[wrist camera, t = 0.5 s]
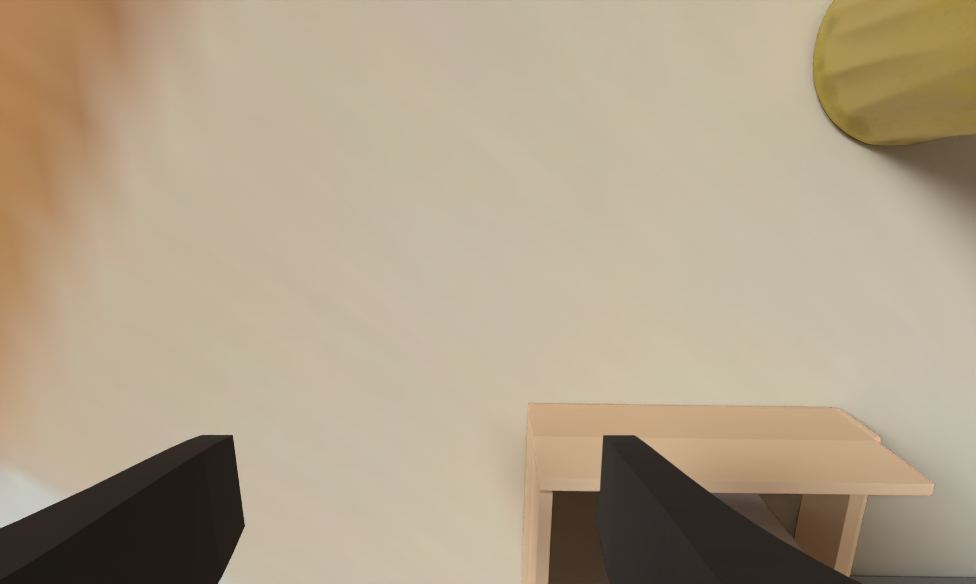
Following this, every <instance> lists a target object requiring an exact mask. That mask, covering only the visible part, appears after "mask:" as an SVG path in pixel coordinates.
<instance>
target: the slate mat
mask: <svg viewBox="0 0 976 584" xmlns="http://www.w3.org/2000/svg"><path fill="white" fill-rule="evenodd" d="M850 578H852V579H854V580H856V581H858V582H860V583H862V584H976V578H951V577H872V576H850Z"/></svg>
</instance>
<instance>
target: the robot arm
mask: <svg viewBox="0 0 976 584" xmlns="http://www.w3.org/2000/svg"><path fill="white" fill-rule="evenodd" d="M244 527H245V524H244V516H243V509H242V501H241V494H240V486H239V479H238V471H237V464H236V456H235V449H234V441H233V435H201V436H198V437H195V438H192V439H190V440H187V441H185V442H183V443H180V444H178V445H176V446H174V447H171V448H169V449H167V450H165V451H163V452H161V453H159V454H157V455H155V456H153V457H151V458H149V459H146V460H144V461H142V462H140V463H138V464H136V465H134V466H132V467H130V468H128V469H126V470H124V471H122V472H120V473H118V474H116V475H114V476H112V477H110V478H108V479H106V480H104V481H102V482H100V483H98V484H96V485H94V486H92V487H90V488H88V489H86V490H83V491H81V492H79V493H77V494H75V495H73V496H70V497H68V498H66V499H64V500H62V501H60V502H58V503H55V504H53V505H51V506H49V507H47V508H45V509H42V510H40V511H38V512H36V513H34V514H32V515H29V516H27V517H25V518H23V519H21V520H19V521H16V522H14V523H12V524H9V525H7V526H5V527H3V528H0V584H218V582H219V580H220V579H221V577H222V575H223V573H224V571H225V569H226V567H227V565H228V563H229V561H230V558H231V556H232V554H233V552H234V550H235V547H236V545H237V543H238V541H239V538H240V536H241V534H242V531H243V529H244ZM598 530H599V535H600V540H601V546H602V551H603V555H604V560H605V565H606V569H607V574H608V578H609V581H610V584H862V583H860V582H858V581H856V580H854V579H852V578H850V577H848V576H846V575H844V574H842V573H840V572H838V571H836V570H834V569H832V568H830V567H829V566H827V565H825V564H823V563H821V562H819V561H817V560H816V559H814V558H812V557H810V556H809V555H807V554H805V553H803V552H802V551H800V550H798V549H796V548H795V547H793V546H791V545H789V544H788V543H786V542H784V541H782V540H781V539H779V538H777V537H776V536H774V535H773V534H771V533H769V532H768V531H766V530H764V529H763V528H761V527H760V526H758V525H757V524H755V523H754V522H752V521H751V520H749V519H748V518H746V517H745V516H743V515H742V514H740V513H739V512H737V511H736V510H734V509H733V508H731V507H730V506H728V505H727V504H725V503H724V502H723V501H721V500H720V499H718V498H717V497H716V496H714V495H713V494H711V493H710V492H709V491H707V490H706V489H705V488H703V487H702V486H701V485H699V484H698V483H697V482H695V481H694V480H693V479H691V478H690V477H689V476H687V475H686V474H685V473H683V472H682V471H681V470H680V469H678V468H677V467H676V466H674V465H673V464H672V463H671V462H669V461H668V460H667V459H666V458H664V457H663V456H662V455H660V454H659V453H658V452H657V451H655V450H654V449H653V448H652V447H650V446H649V445H648V444H646V443H645V442H644V441H642V440H641V439H640V438H638V437H637V436H635V435H603V446H602V462H601V479H600V496H599V512H598Z"/></svg>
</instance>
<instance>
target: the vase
mask: <svg viewBox="0 0 976 584" xmlns="http://www.w3.org/2000/svg"><path fill="white" fill-rule="evenodd" d="M813 76H814V82H815V87H816V91H817V94H818V97H819V99H820V102H821V104H822V106H823V108H824V110H825V111H826V113H827V115H828V116H829V117H830V119H831V120H832V121H833V122H834V123H835V124H836V125H837V126H838V127H839V128H840V129H842V130H843V131H844V132H846V133H847V134H849V135H850V136H852V137H854V138H856V139H858V140H860V141H862V142H864V143H868V144H872V145H881V146H897V145H910V144H915V143H920V142H924V141H928V140H933V139H939V138H945V137H953V136H964V135H976V0H834V1H833V2H832V4H831V5H830V7H829V9H828V10H827V12H826V14H825V16H824V19H823V21H822V23H821V26H820V28H819V32H818V35H817V39H816V43H815V48H814V56H813Z"/></svg>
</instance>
